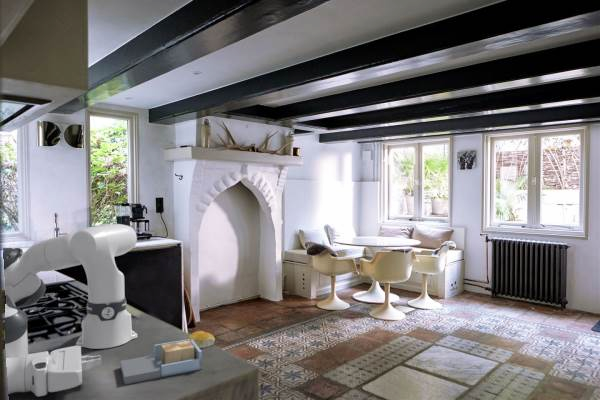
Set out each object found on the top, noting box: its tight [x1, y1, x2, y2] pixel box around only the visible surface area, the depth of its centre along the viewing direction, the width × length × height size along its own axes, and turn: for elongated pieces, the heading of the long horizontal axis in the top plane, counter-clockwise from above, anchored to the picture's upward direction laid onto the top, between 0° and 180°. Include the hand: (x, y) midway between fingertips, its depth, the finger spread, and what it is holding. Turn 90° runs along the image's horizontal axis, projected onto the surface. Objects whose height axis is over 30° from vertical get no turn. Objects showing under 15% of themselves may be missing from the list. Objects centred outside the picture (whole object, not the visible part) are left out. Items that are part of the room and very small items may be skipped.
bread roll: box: [187, 330, 216, 349], centre depth 141 cm, size 8×9×4 cm
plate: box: [120, 354, 162, 385], centre depth 119 cm, size 12×9×2 cm
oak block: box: [162, 341, 194, 365], centre depth 124 cm, size 6×5×8 cm
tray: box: [153, 338, 203, 378], centre depth 124 cm, size 12×11×5 cm
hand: (101, 360), depth 114 cm, fingers closed
